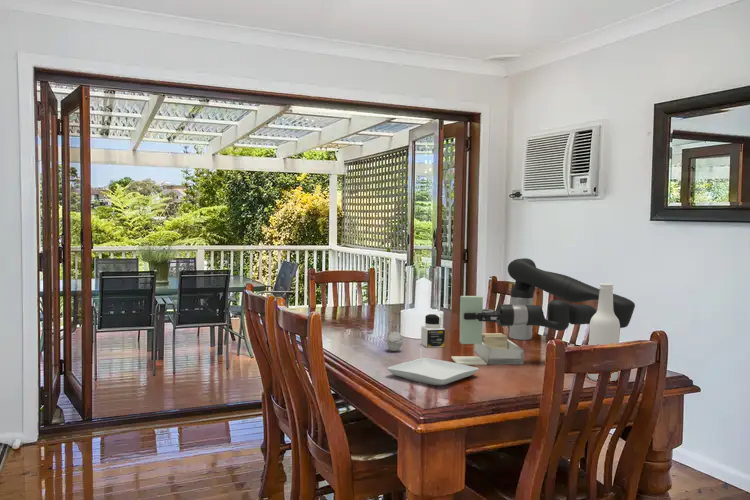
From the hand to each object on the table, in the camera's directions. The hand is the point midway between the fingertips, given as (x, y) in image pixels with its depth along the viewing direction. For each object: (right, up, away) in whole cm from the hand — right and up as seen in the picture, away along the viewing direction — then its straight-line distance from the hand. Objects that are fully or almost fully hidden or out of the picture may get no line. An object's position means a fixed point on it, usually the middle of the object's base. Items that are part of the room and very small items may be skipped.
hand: (463, 315), depth 207 cm
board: (+3, -10, +1) cm, 10 cm away
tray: (+14, -16, +9) cm, 23 cm away
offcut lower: (+13, -14, +14) cm, 24 cm away
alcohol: (+41, -18, -18) cm, 48 cm away
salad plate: (-12, -17, -20) cm, 29 cm away
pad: (+2, -16, +2) cm, 16 cm away
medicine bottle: (-8, -15, +27) cm, 32 cm away
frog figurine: (-23, -15, +16) cm, 32 cm away
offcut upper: (+13, -11, +14) cm, 22 cm away
